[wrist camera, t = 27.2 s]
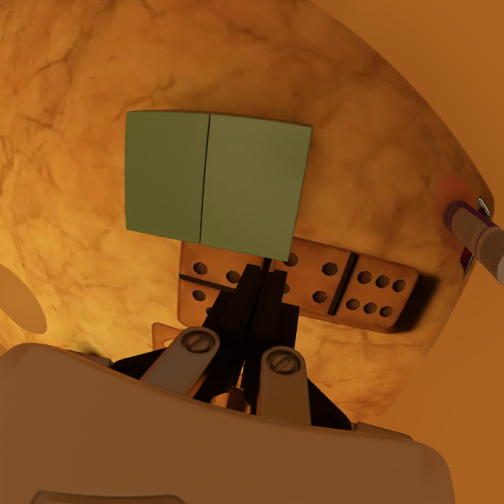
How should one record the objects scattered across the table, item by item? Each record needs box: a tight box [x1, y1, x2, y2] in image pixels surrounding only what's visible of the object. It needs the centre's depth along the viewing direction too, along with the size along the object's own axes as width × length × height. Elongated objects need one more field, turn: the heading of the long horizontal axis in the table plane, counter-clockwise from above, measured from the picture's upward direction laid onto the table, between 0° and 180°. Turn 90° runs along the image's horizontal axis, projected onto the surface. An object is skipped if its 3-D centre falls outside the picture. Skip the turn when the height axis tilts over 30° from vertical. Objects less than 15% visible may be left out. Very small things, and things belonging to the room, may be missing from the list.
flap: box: [201, 114, 312, 262], centre depth 26 cm, size 9×13×1 cm
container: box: [444, 200, 504, 285], centre depth 27 cm, size 5×5×15 cm
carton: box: [125, 110, 313, 258], centre depth 32 cm, size 18×13×11 cm
